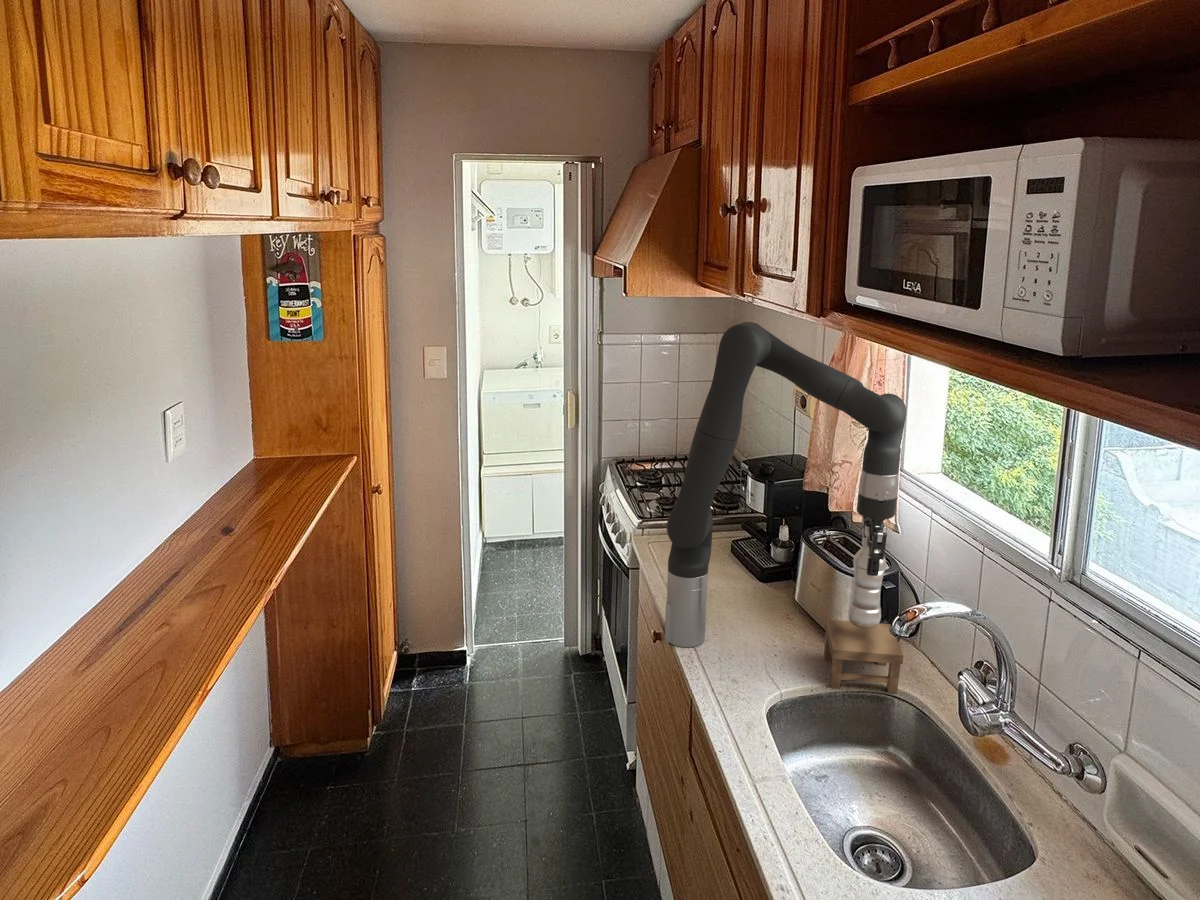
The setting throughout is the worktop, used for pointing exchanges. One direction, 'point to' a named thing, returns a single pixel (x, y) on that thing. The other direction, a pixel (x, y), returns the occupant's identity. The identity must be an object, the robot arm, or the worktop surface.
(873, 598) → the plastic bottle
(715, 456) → the robot arm
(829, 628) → the walnut stool
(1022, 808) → the worktop surface
